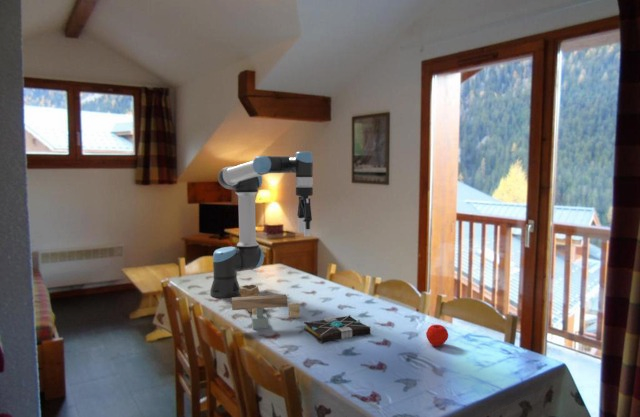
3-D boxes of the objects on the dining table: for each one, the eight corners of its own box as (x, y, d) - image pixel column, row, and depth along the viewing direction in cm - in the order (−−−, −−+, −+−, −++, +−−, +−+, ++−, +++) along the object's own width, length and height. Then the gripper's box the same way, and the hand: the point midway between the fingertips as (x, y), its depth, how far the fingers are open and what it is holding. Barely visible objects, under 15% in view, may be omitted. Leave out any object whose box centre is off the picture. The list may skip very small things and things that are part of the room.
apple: (444, 350, 169) (444, 330, 168) (422, 346, 173) (423, 326, 172) (450, 343, 176) (451, 324, 175) (429, 339, 180) (430, 320, 179)
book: (320, 344, 176) (320, 331, 175) (302, 330, 191) (302, 318, 191) (371, 335, 185) (371, 323, 185) (350, 322, 200) (350, 311, 200)
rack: (252, 317, 206) (252, 305, 206) (297, 313, 211) (297, 302, 210) (253, 320, 201) (253, 309, 201) (299, 317, 206) (299, 306, 205)
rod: (231, 307, 193) (231, 297, 193) (285, 303, 198) (285, 294, 198) (232, 310, 189) (232, 300, 189) (287, 306, 194) (287, 297, 194)
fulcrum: (251, 324, 197) (251, 305, 196) (266, 323, 198) (266, 304, 197) (253, 329, 191) (252, 309, 190) (268, 328, 192) (267, 308, 192)
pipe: (246, 315, 208) (246, 293, 207) (237, 305, 223) (236, 284, 222) (266, 313, 212) (266, 291, 211) (255, 303, 227) (255, 282, 226)
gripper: (291, 185, 222) (291, 230, 224) (301, 188, 198) (301, 238, 200) (306, 185, 224) (307, 230, 226) (318, 187, 200) (318, 238, 202)
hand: (304, 234), depth 213 cm, fingers open, 13 cm apart
